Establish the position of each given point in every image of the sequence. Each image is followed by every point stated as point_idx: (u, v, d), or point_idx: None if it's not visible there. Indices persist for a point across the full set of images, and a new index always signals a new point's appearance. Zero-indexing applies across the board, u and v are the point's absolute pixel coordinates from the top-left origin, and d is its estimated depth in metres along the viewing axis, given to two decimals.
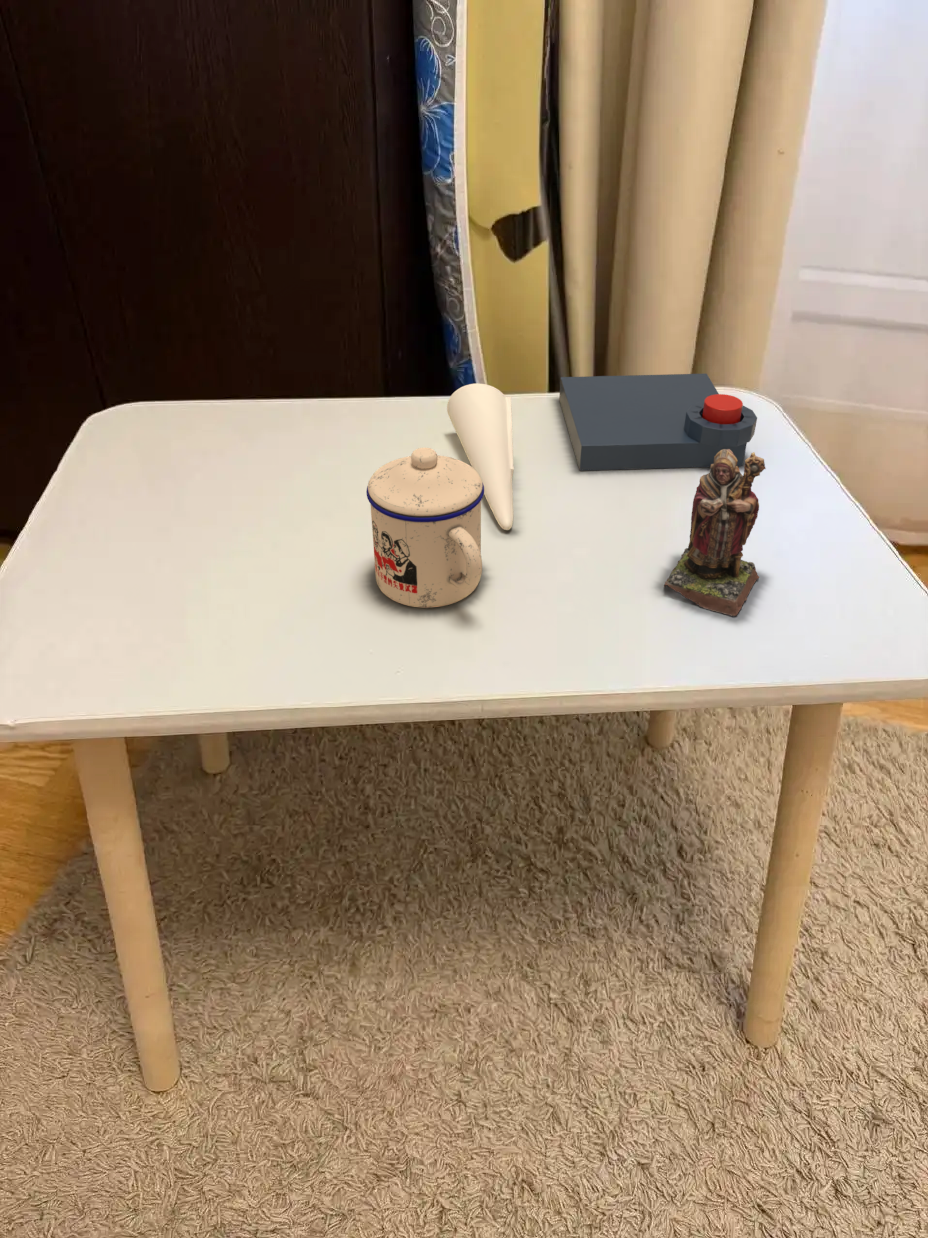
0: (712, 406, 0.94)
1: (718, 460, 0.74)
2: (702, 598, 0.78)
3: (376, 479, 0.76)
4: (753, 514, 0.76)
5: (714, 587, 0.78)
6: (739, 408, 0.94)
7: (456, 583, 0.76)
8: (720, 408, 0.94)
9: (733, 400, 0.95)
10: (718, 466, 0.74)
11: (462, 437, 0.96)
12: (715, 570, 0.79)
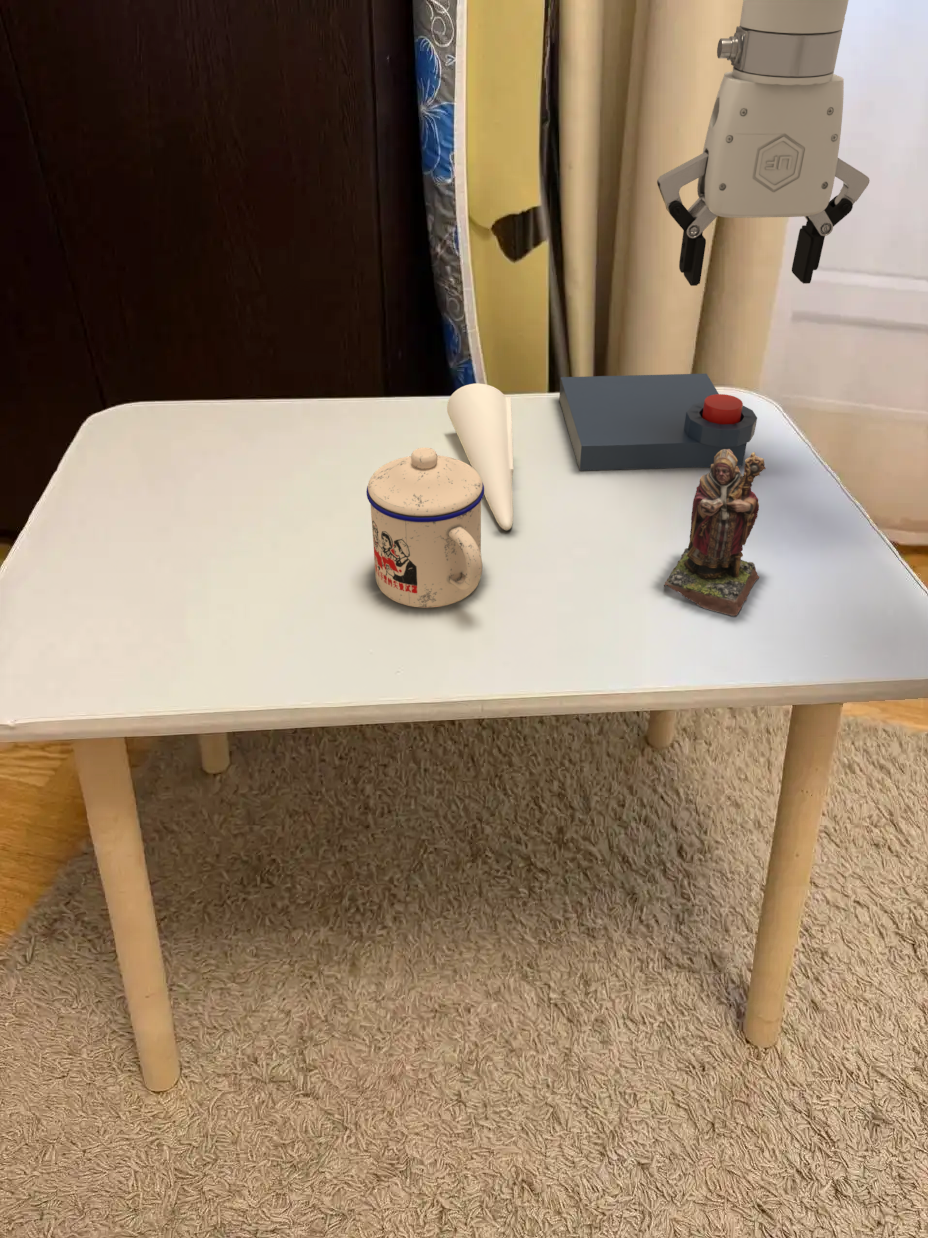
0: (712, 406, 0.94)
1: (718, 460, 0.74)
2: (702, 598, 0.78)
3: (376, 479, 0.76)
4: (753, 514, 0.76)
5: (714, 587, 0.78)
6: (739, 408, 0.94)
7: (456, 583, 0.76)
8: (720, 408, 0.94)
9: (733, 400, 0.95)
10: (718, 466, 0.74)
11: (462, 437, 0.96)
12: (715, 570, 0.79)
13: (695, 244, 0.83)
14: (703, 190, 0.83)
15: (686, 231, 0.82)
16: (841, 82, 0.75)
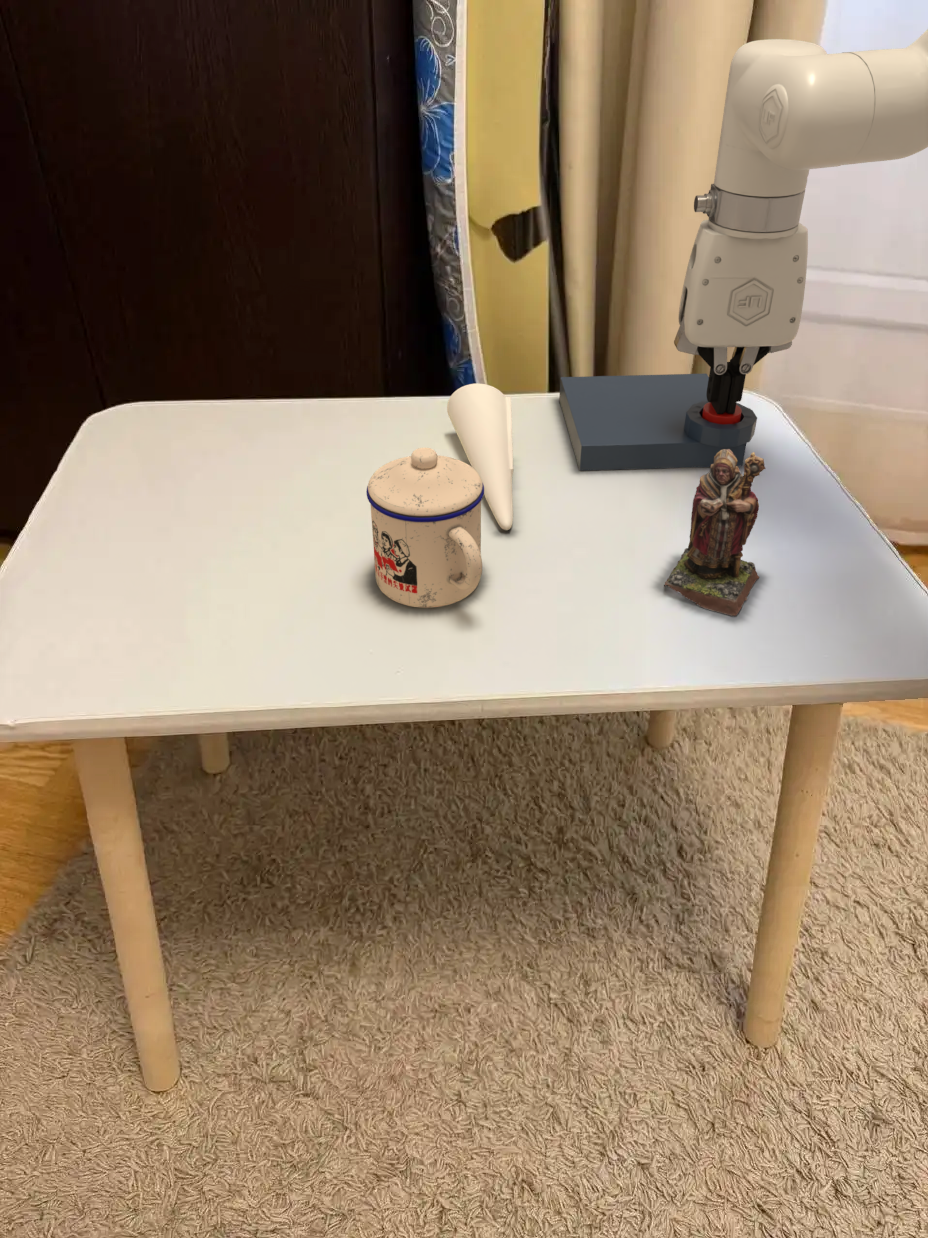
0: (711, 413, 0.94)
1: (718, 460, 0.74)
2: (702, 598, 0.78)
3: (376, 479, 0.76)
4: (753, 514, 0.76)
5: (714, 587, 0.78)
6: (738, 415, 0.94)
7: (456, 583, 0.76)
8: (719, 415, 0.94)
9: None
10: (718, 466, 0.74)
11: (462, 437, 0.96)
12: (715, 570, 0.79)
13: (721, 379, 0.92)
14: None
15: (716, 373, 0.92)
16: (805, 234, 0.83)
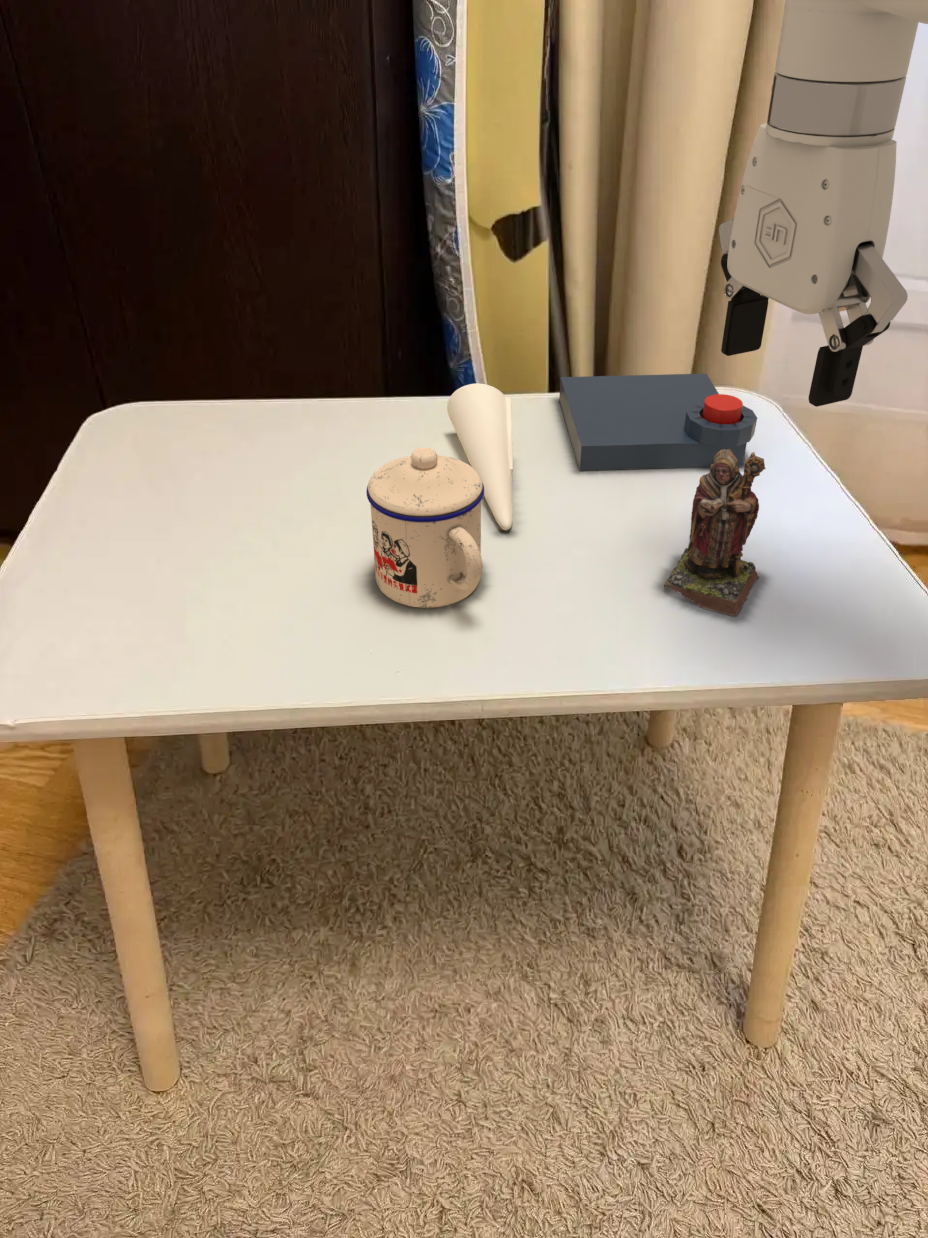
0: (712, 406, 0.94)
1: (718, 461, 0.74)
2: (702, 598, 0.78)
3: (376, 479, 0.76)
4: (753, 514, 0.76)
5: (714, 587, 0.78)
6: (739, 408, 0.94)
7: (456, 583, 0.76)
8: (720, 408, 0.94)
9: (733, 400, 0.95)
10: (718, 466, 0.74)
11: (462, 437, 0.96)
12: (715, 570, 0.79)
13: None
14: None
15: (726, 289, 0.72)
16: (845, 151, 0.57)
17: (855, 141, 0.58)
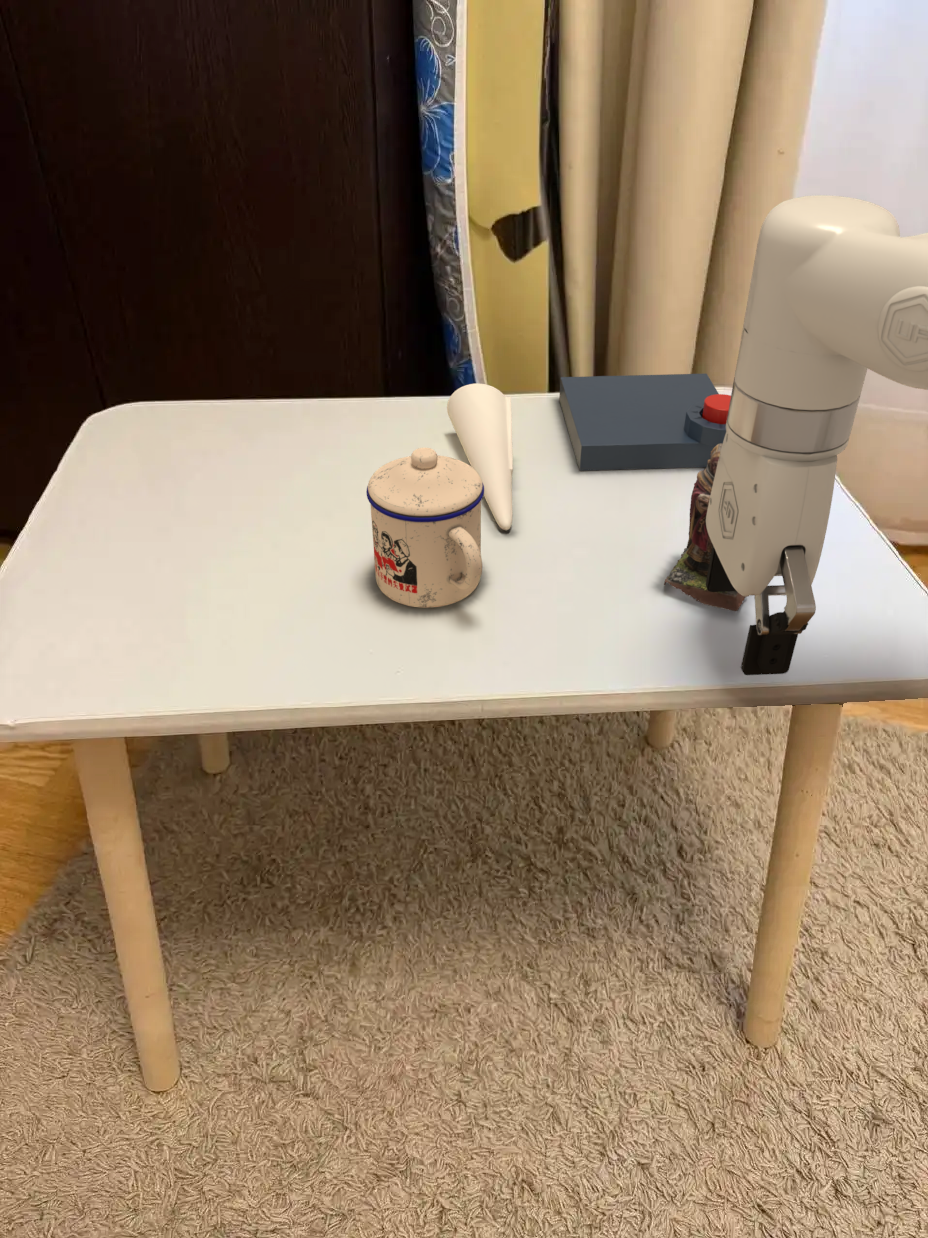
0: (712, 406, 0.94)
1: (715, 455, 0.75)
2: (702, 594, 0.78)
3: (376, 479, 0.76)
4: None
5: None
6: None
7: (456, 583, 0.76)
8: (720, 408, 0.94)
9: None
10: (714, 460, 0.75)
11: (461, 437, 0.96)
12: None
13: None
14: None
15: None
16: (771, 466, 0.59)
17: (787, 456, 0.60)
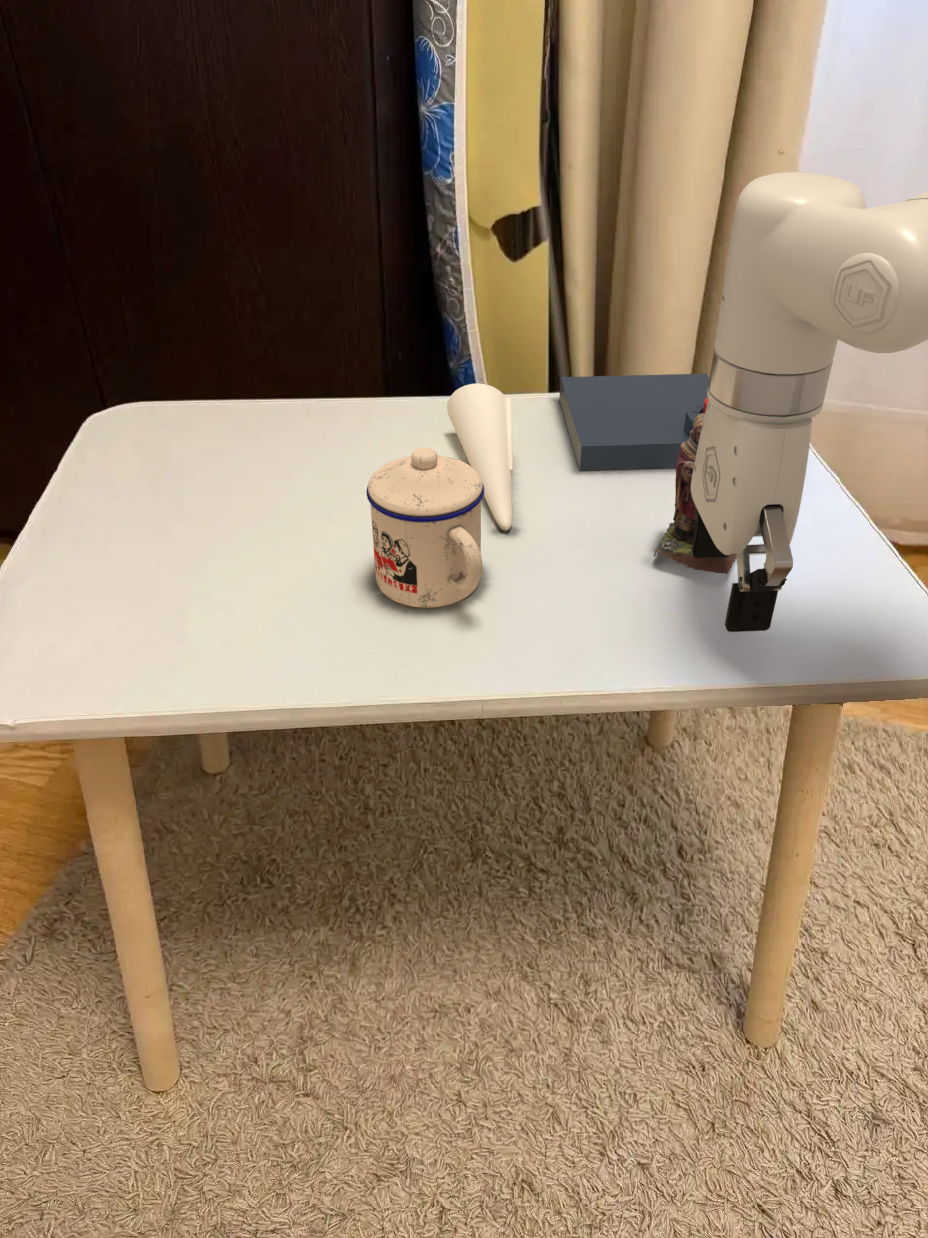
0: None
1: (697, 424, 0.78)
2: (692, 561, 0.81)
3: (376, 479, 0.76)
4: None
5: None
6: None
7: (456, 583, 0.76)
8: None
9: None
10: (697, 429, 0.78)
11: (461, 437, 0.96)
12: None
13: None
14: None
15: None
16: (750, 428, 0.63)
17: (764, 419, 0.63)
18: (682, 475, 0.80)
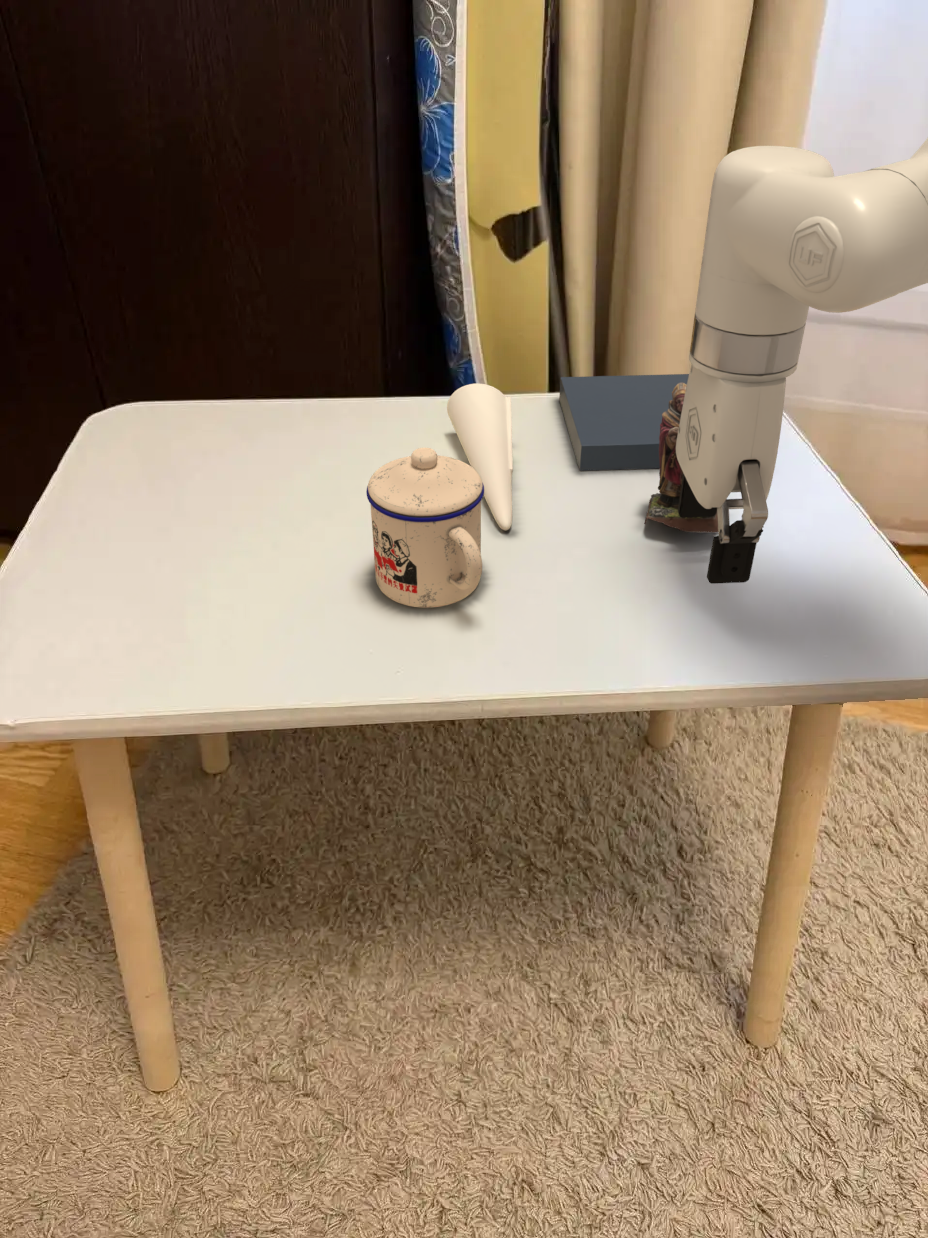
0: None
1: (678, 392, 0.83)
2: (684, 523, 0.84)
3: (376, 479, 0.76)
4: None
5: None
6: None
7: (456, 583, 0.76)
8: None
9: None
10: (678, 397, 0.83)
11: (461, 437, 0.96)
12: None
13: None
14: None
15: None
16: (727, 386, 0.67)
17: (741, 378, 0.67)
18: (667, 442, 0.84)
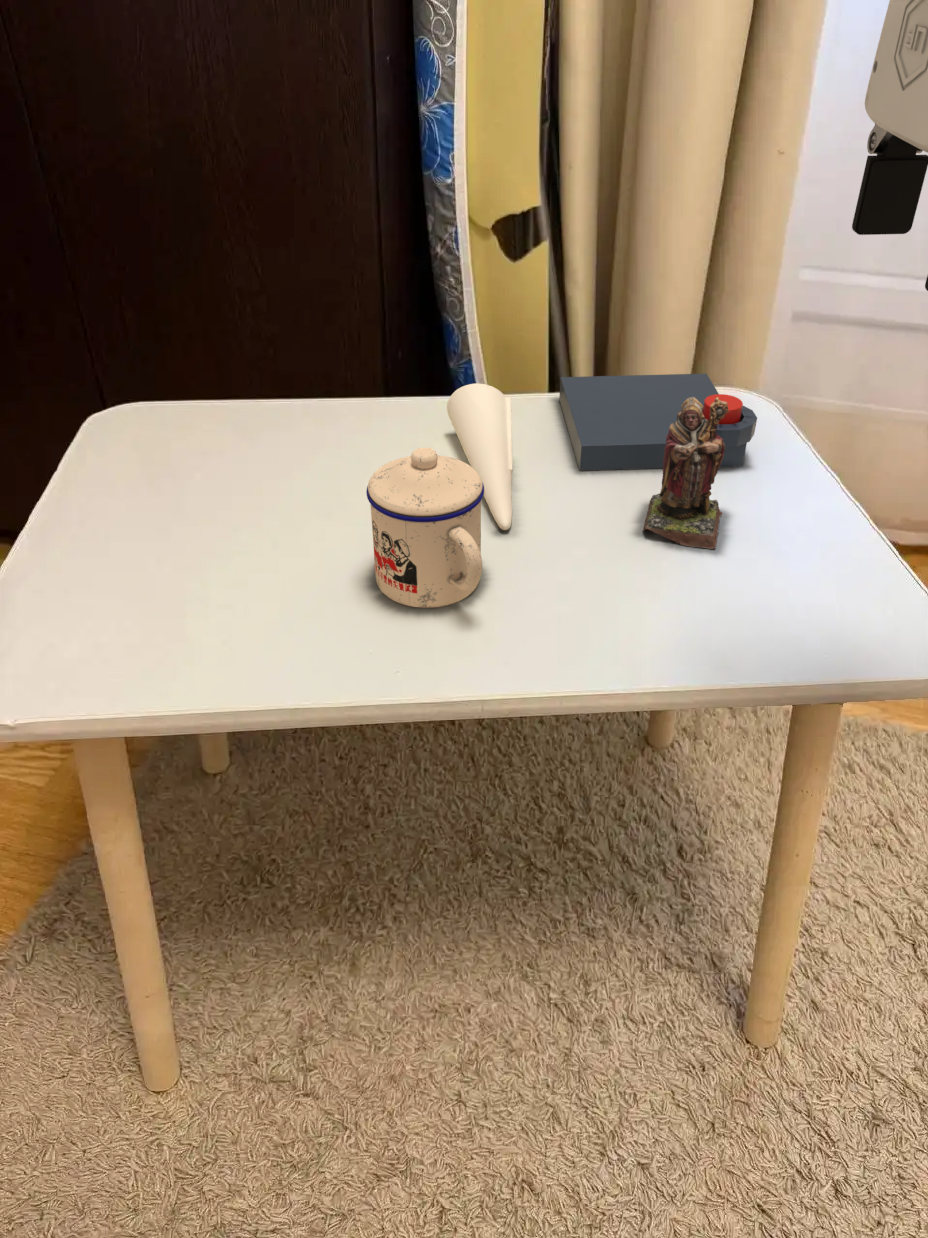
0: None
1: (687, 408, 0.81)
2: (682, 537, 0.85)
3: (376, 479, 0.76)
4: (720, 454, 0.83)
5: (691, 525, 0.85)
6: (739, 408, 0.94)
7: (456, 583, 0.76)
8: None
9: (733, 400, 0.95)
10: (687, 413, 0.82)
11: (461, 437, 0.96)
12: (688, 510, 0.86)
13: None
14: None
15: (871, 141, 0.54)
16: None
17: None
18: (671, 456, 0.83)
